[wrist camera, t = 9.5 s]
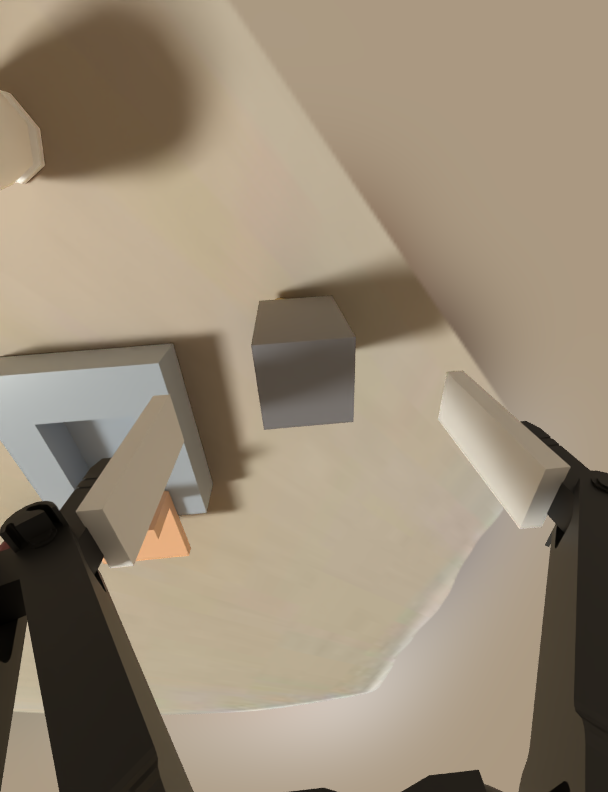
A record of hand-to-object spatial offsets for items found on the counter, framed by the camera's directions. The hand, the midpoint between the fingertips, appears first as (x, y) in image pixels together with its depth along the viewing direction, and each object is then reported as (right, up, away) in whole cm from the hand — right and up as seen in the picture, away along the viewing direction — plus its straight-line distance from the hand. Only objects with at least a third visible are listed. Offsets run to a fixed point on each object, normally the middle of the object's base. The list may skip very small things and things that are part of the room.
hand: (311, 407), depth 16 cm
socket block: (-16, -2, +13) cm, 21 cm away
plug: (-1, +6, +9) cm, 11 cm away
